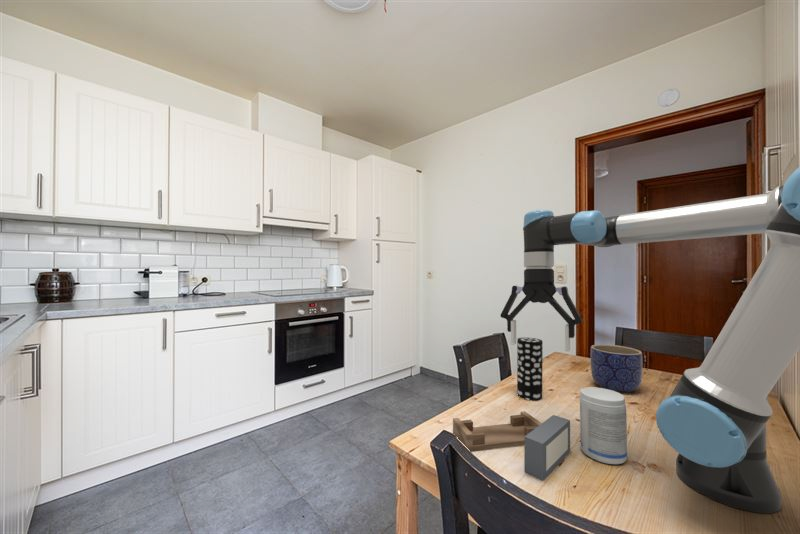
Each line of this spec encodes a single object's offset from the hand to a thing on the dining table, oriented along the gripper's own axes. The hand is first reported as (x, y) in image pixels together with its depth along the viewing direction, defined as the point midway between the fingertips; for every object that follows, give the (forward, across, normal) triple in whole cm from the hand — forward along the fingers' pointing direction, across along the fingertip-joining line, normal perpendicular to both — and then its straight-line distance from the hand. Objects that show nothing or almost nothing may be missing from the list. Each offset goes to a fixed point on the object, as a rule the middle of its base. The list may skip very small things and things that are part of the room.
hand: (539, 347), depth 86 cm
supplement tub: (+24, -14, 0) cm, 28 cm away
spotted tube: (+24, +9, -28) cm, 38 cm away
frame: (+24, -4, +11) cm, 27 cm away
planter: (+24, -16, -57) cm, 64 cm away
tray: (+24, +9, +7) cm, 26 cm away
